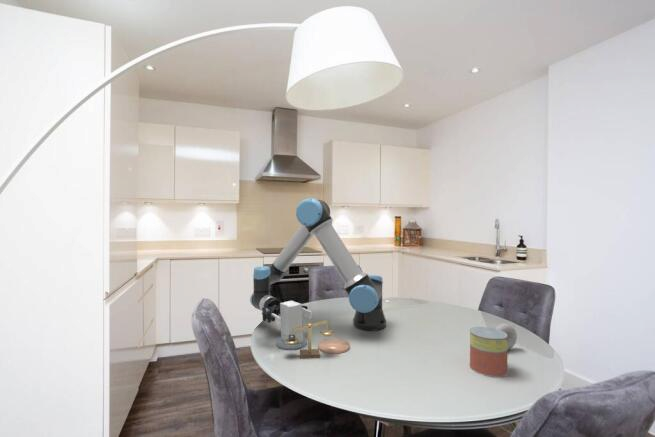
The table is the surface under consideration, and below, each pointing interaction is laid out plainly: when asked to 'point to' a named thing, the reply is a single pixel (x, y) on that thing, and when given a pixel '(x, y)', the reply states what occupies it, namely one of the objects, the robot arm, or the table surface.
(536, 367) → the table surface
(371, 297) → the robot arm
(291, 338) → the balance
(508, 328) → the donut
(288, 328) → the skincare box
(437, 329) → the table surface
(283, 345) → the slate dish
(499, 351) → the canned food
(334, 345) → the terracotta dish
